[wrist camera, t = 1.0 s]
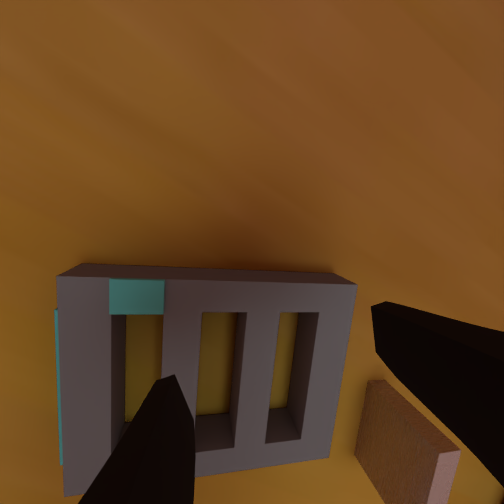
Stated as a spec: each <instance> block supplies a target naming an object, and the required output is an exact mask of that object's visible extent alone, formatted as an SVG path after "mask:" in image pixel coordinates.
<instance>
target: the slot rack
mask: <svg viewBox="0 0 504 504" xmlns="http://www.w3.org/2000/svg"><path fill="white" fill-rule="evenodd" d="M56 280H57V308H56V309H55V310H54V315H55V342H56V369H57V396H58V423H59V449H60V465H63V479H64V497H66V496H73V495H80V494H85V493H86V491H87V490H88V488H89V487H90V485H91V484H92V482H93V481H94V479H95V478H96V476H97V475H98V473H99V472H100V470H101V469H102V467H103V466H104V464H105V463H106V461H107V460H108V458H109V457H110V455H111V454H112V452H113V451H114V449H115V447H116V446H117V444H118V443H119V441H120V439H121V438H122V436H123V434H124V433H125V431H126V430H127V428H128V426H129V425H130V423H131V422H128V423H125V338H126V314H163V313H164V320H163V347H162V373H161V379H162V378H165V377H168V376H171V375H174V374H175V376H176V378H177V381H178V383H179V385H180V388H181V390H182V392H183V395H184V397H185V400H186V402H187V404H188V407H189V409H190V411H191V414H192V416H193V419H194V429H195V450H196V461H195V477H201V476H208V475H215V474H221V473H228V472H235V471H242V470H248V469H255V468H262V467H269V466H275V465H282V464H289V463H295V462H302V461H309V460H316V459H322V458H329V453H330V447H331V441H332V435H333V429H334V423H335V417H336V411H337V405H338V399H339V393H340V387H341V381H342V375H343V369H344V363H345V357H346V351H347V345H348V340H349V334H350V328H351V322H352V316H353V310H354V304H355V298H356V292H357V286H358V285H357V284H355V283H353V282H351V281H349V280H347V279H345V278H343V277H341V276H339V275H337V274H334V273H310V272H285V271H260V270H234V269H209V268H184V267H158V266H133V265H108V264H80V265H78V266H76V267H74V268H72V269H70V270H68V271H66V272H64V273H62V274H60V275H58V276H56ZM202 312H238V317H237V329H236V340H235V351H234V362H233V374H232V385H231V396H230V408H229V413H225V414H214V415H203V416H195V415H196V399H197V383H198V368H199V352H200V337H201V321H202ZM280 312H299V318H298V326H297V334H296V341H295V349H294V357H293V364H292V372H291V380H290V387H289V395H288V402H287V408H278V409H269V403H270V395H271V386H272V378H273V369H274V361H275V352H276V344H277V335H278V327H279V318H280Z"/></svg>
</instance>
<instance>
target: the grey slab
mask: <svg viewBox="0 0 504 504" xmlns="http://www.w3.org/2000/svg"><path fill="white" fill-rule="evenodd" d="M460 453H461V449H460V448H458V447H457V446H456V445H455V444H454V443H453V442H452V441H451V440H450V439H449V438H448V437H446V436H445V435H444V434H443V433H442V432H441V431H440V430H439V429H438V428H437V427H436V426H435V425H433V424H432V423H431V422H430V421H429V420H428V419H427V418H426V417H425V416H424V415H423V414H422V413H420V412H419V411H418V410H417V409H416V408H415V407H414V406H413V405H412V404H411V403H410V402H409V401H407V400H406V399H405V398H404V397H403V396H402V395H401V394H400V393H399V392H398V391H397V390H395V389H394V388H393V387H392V386H391V385H390V384H389V383H388V382H387V381H386V380H385V379H384V380H371V381H368V383H367V388H366V394H365V399H364V404H363V410H362V415H361V421H360V426H359V431H358V437H357V442H356V447H355V453H354V455H355V457H356V459H357V460H358V462H359V463H360V465H361V467H362V468H363V470H364V471H365V473H366V474H367V476H368V478H369V479H370V481H371V482H372V484H373V485H374V487H375V489H376V490H377V492H378V493H379V495H380V497H381V498H382V500H383V501H384V503H385V504H447V502H448V498H449V494H450V491H451V487H452V483H453V479H454V476H455V472H456V468H457V464H458V461H459V457H460Z"/></svg>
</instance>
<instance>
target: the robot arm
mask: <svg viewBox="0 0 504 504" xmlns="http://www.w3.org/2000/svg"><path fill="white" fill-rule="evenodd" d="M371 312H372V321H373V331H374V340H375V349H376V353H377V354H378V355H379V357H380V358H381V359H382V361H383V362H384V363H385V364H386V366H387V367H388V368H389V369H390V370H391V372H392V373H393V374H394V375H395V376H396V377H397V378H398V379H399V380H400V381H401V382H402V383H403V384H404V385H405V386H406V387H407V388H408V389H409V390H410V391H411V392H412V393H413V394H414V395H415V396H416V397H417V398H418V399H419V400H420V401H421V402H422V403H423V404H424V405H425V406H426V407H427V408H428V409H429V410H430V411H431V412H432V413H433V414H434V415H435V416H436V417H437V418H438V419H439V420H440V421H441V422H442V423H443V424H444V425H445V426H446V427H448V428H449V429H450V430H451V431H452V432H453V433H454V434H455V435H456V436H457V437H458V438H459V439H460V440H461V441H462V442H463V443H464V444H465V445H466V446H467V447H468V448H469V450H470V451H471V452H472V453H473V454H474V455H475V456H476V457H477V458H478V459H479V460H480V461H481V462H482V464H483V465H484V466H485V467H486V468H487V469H488V470H489V471H490V473H491V474H492V475H493V476H494V477H495V478H496V479H497V480H498V482H499V483H500V484H501V485H502V486H503V487H504V332H502V331H498V330H493V329H489V328H485V327H481V326H477V325H473V324H469V323H465V322H462V321H458V320H454V319H451V318H447V317H443V316H440V315H436V314H432V313H429V312H425V311H422V310H418V309H415V308H411V307H407V306H404V305H400V304H396V303H392V302H387V301H385V302H382V303H379V304H377V305H374V306H371ZM195 461H196V450H195V429H194V419H193V416H192V414H191V411H190V409H189V407H188V404H187V402H186V400H185V397H184V395H183V392H182V390H181V388H180V385H179V383H178V381H177V378H176V376H175V374H174V375H171V376H168V377H165V378H162V379H159V380H156V382H155V383H154V385H153V387H152V388H151V390H150V392H149V393H148V395H147V397H146V398H145V400H144V401H143V403H142V405H141V407H140V408H139V410H138V412H137V413H136V415H135V416H134V418H133V420H132V421H131V423H130V425H129V426H128V428H127V430H126V431H125V433H124V434H123V436H122V438H121V439H120V441H119V443H118V444H117V446H116V447H115V449H114V451H113V452H112V454H111V455H110V457H109V458H108V460H107V461H106V463H105V464H104V466H103V467H102V469H101V470H100V472H99V473H98V475H97V476H96V478H95V479H94V481H93V482H92V484H91V485H90V487H89V488H88V490H87V491H86V493H85V494H84V496H83V497H82V499H81V500H80V502H79V503H78V504H193V501H194V482H195Z"/></svg>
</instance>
